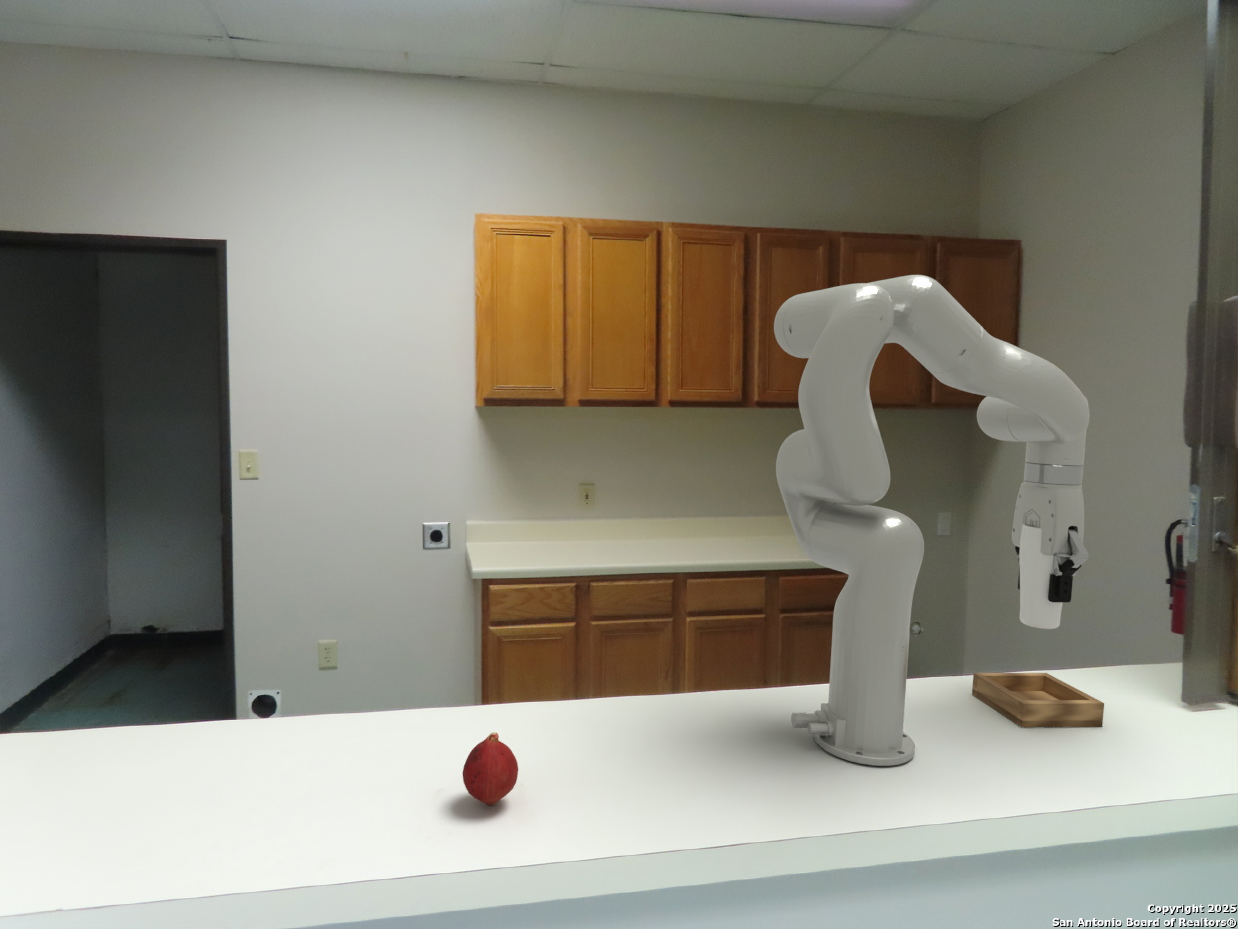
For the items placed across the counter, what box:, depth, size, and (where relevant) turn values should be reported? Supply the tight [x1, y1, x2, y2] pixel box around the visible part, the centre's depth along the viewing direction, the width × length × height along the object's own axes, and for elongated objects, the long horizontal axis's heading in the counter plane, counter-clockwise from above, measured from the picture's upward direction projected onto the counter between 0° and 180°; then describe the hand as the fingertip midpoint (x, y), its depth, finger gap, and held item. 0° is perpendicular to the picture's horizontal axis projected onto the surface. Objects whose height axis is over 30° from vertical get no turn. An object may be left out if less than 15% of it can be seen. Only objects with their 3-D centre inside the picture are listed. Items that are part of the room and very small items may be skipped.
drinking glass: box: [1019, 524, 1069, 630], centre depth 112 cm, size 7×7×15 cm
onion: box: [462, 731, 519, 806], centre depth 81 cm, size 6×6×8 cm
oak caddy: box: [971, 672, 1105, 729], centre depth 113 cm, size 12×12×4 cm
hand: (1043, 594), depth 112 cm, fingers closed on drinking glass, 6 cm apart
